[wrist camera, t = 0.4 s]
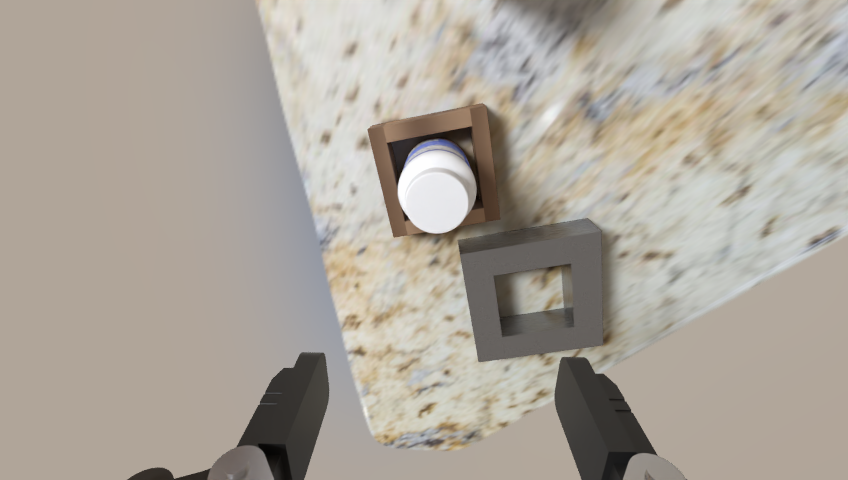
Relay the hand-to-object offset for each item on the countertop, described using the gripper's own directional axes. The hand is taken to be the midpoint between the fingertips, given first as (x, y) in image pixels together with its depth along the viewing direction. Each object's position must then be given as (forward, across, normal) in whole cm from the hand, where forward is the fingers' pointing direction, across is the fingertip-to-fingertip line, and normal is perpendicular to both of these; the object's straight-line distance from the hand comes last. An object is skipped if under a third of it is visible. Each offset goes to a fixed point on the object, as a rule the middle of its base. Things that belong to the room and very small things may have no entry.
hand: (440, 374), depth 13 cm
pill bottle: (+22, 0, -2) cm, 22 cm away
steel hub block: (+22, -9, +9) cm, 25 cm away
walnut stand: (+22, 0, -2) cm, 22 cm away
